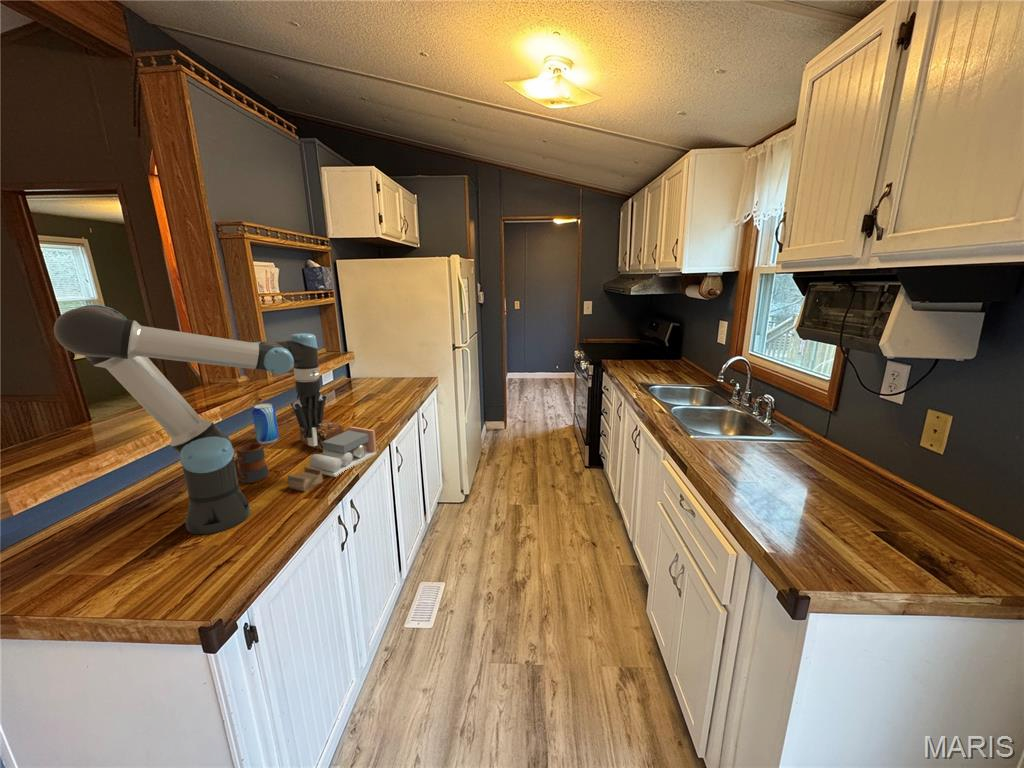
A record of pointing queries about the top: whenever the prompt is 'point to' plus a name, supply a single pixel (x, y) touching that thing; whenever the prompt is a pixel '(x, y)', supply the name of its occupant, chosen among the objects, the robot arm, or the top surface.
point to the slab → (345, 441)
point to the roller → (359, 451)
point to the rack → (305, 479)
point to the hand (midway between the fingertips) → (312, 445)
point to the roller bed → (343, 456)
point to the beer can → (265, 423)
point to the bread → (323, 433)
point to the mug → (251, 463)
